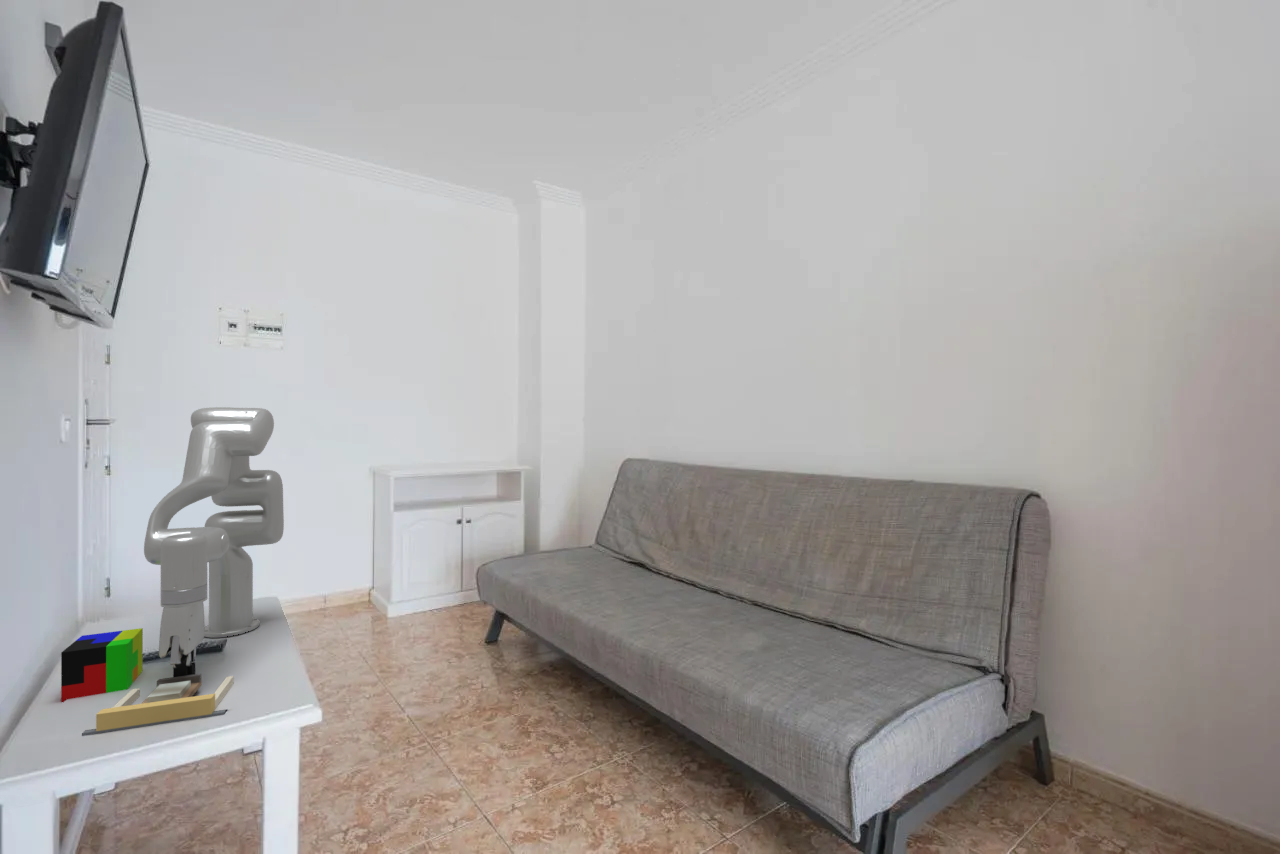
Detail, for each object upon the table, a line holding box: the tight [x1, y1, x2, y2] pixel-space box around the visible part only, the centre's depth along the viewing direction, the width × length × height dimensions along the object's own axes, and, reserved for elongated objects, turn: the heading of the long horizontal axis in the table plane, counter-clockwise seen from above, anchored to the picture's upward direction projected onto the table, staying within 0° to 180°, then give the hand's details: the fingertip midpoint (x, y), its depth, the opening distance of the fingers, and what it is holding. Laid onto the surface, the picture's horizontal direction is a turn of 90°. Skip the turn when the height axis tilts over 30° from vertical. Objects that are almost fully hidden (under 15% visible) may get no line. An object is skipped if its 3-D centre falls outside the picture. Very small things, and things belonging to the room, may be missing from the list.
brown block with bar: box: [140, 673, 202, 704], centre depth 111 cm, size 9×7×4 cm
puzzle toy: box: [60, 627, 144, 703], centre depth 119 cm, size 10×10×10 cm
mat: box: [81, 675, 235, 737], centre depth 116 cm, size 26×21×3 cm
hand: (184, 684), depth 117 cm, fingers closed
